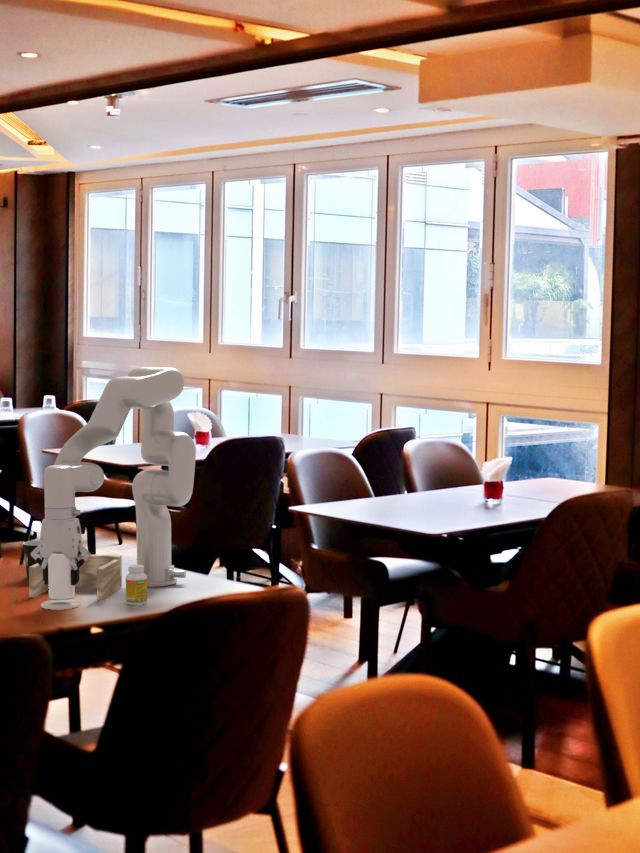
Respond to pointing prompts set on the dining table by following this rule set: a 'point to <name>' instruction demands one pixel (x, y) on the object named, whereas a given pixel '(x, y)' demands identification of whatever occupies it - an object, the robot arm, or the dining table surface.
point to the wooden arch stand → (86, 575)
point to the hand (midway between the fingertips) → (61, 583)
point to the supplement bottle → (136, 585)
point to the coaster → (60, 604)
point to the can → (60, 577)
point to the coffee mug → (29, 554)
